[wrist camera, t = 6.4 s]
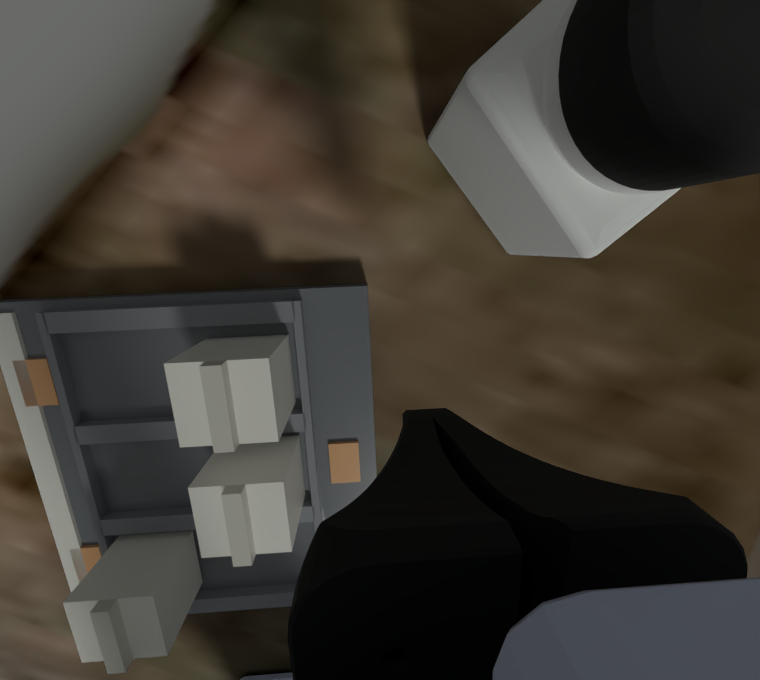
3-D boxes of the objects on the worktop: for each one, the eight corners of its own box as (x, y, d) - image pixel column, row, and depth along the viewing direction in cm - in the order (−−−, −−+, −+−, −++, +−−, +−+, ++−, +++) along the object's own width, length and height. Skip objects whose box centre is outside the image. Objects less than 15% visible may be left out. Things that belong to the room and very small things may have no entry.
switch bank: (381, 579, 24) (383, 606, 22) (95, 600, 23) (73, 629, 21) (367, 283, 19) (367, 287, 17) (7, 299, 18) (-31, 305, 17)
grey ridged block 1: (202, 581, 21) (160, 669, 17) (132, 587, 21) (72, 676, 17) (192, 530, 21) (145, 608, 16) (119, 535, 20) (51, 615, 16)
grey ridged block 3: (305, 493, 20) (289, 562, 16) (232, 498, 20) (195, 569, 16) (299, 435, 19) (280, 491, 15) (222, 439, 19) (180, 497, 15)
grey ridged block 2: (295, 401, 19) (275, 449, 14) (217, 406, 19) (172, 455, 14) (288, 334, 18) (264, 362, 14) (206, 338, 18) (154, 368, 13)
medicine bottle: (508, 257, 19) (739, 274, 7) (423, 140, 17) (545, -74, 6) (624, 162, 18) (1097, 8, 6) (545, 30, 17) (979, -486, 5)
